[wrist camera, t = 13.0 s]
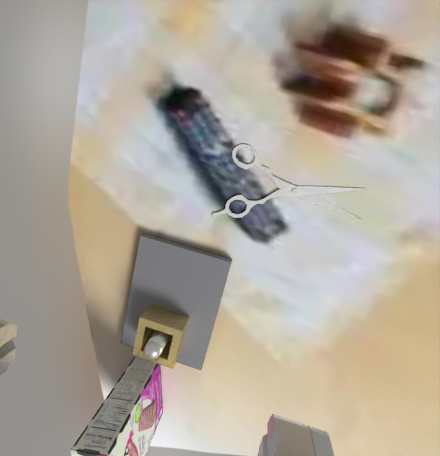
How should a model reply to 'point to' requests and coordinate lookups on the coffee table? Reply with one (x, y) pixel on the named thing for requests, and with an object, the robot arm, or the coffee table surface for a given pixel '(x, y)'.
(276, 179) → the scissors
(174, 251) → the slate mat
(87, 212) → the coffee table surface
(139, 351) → the brass collar
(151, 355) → the steel post
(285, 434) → the robot arm
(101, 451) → the candy bar box
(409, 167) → the coffee table surface
